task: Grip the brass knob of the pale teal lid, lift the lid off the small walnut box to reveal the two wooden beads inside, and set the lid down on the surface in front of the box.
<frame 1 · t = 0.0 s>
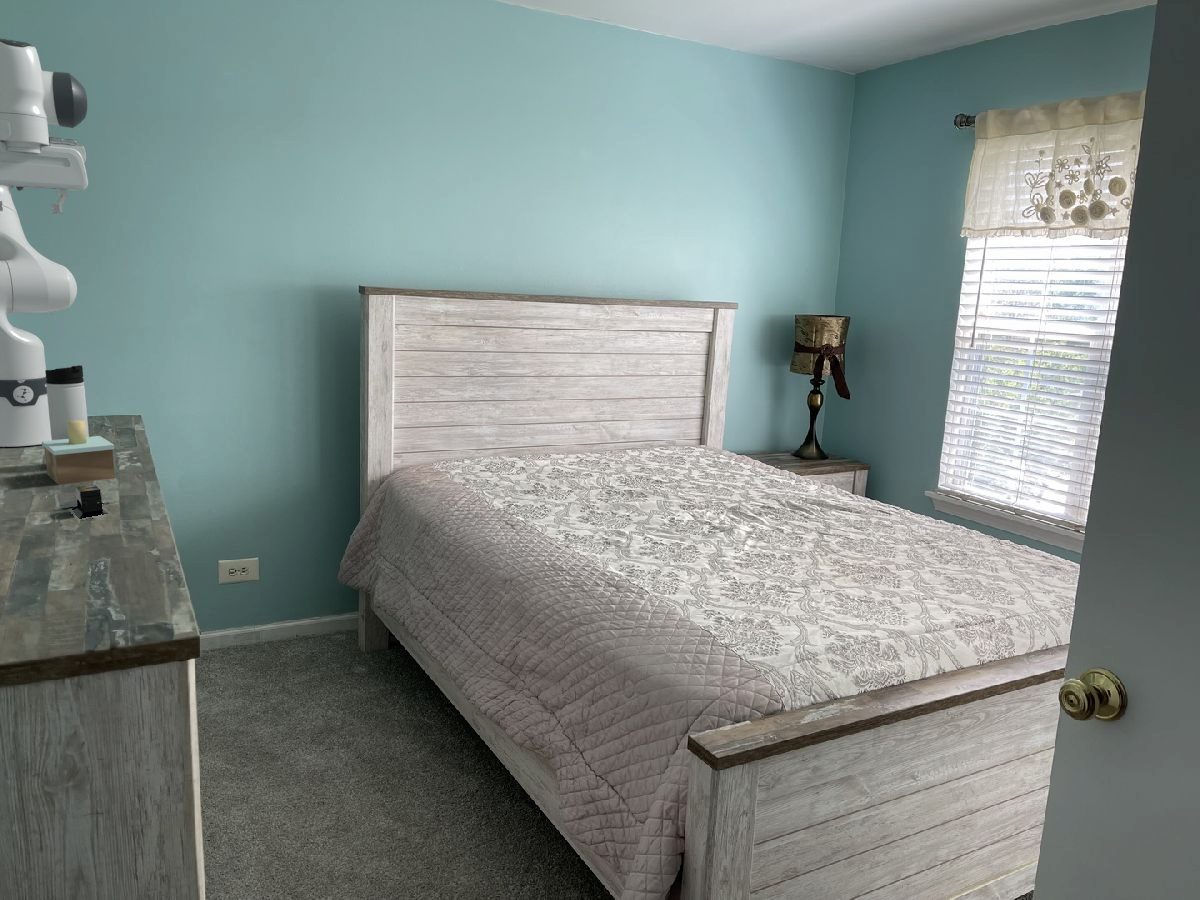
hand: (28, 212, 165), 48 cm above the dresser, tool pointing down, fingers open, 8 cm apart
lid: (78, 447, 164), point 6 cm above the dresser, touching box
box: (81, 479, 165), on the dresser
black stepped block: (90, 516, 144), on the dresser
travel mug: (73, 468, 174), on the dresser
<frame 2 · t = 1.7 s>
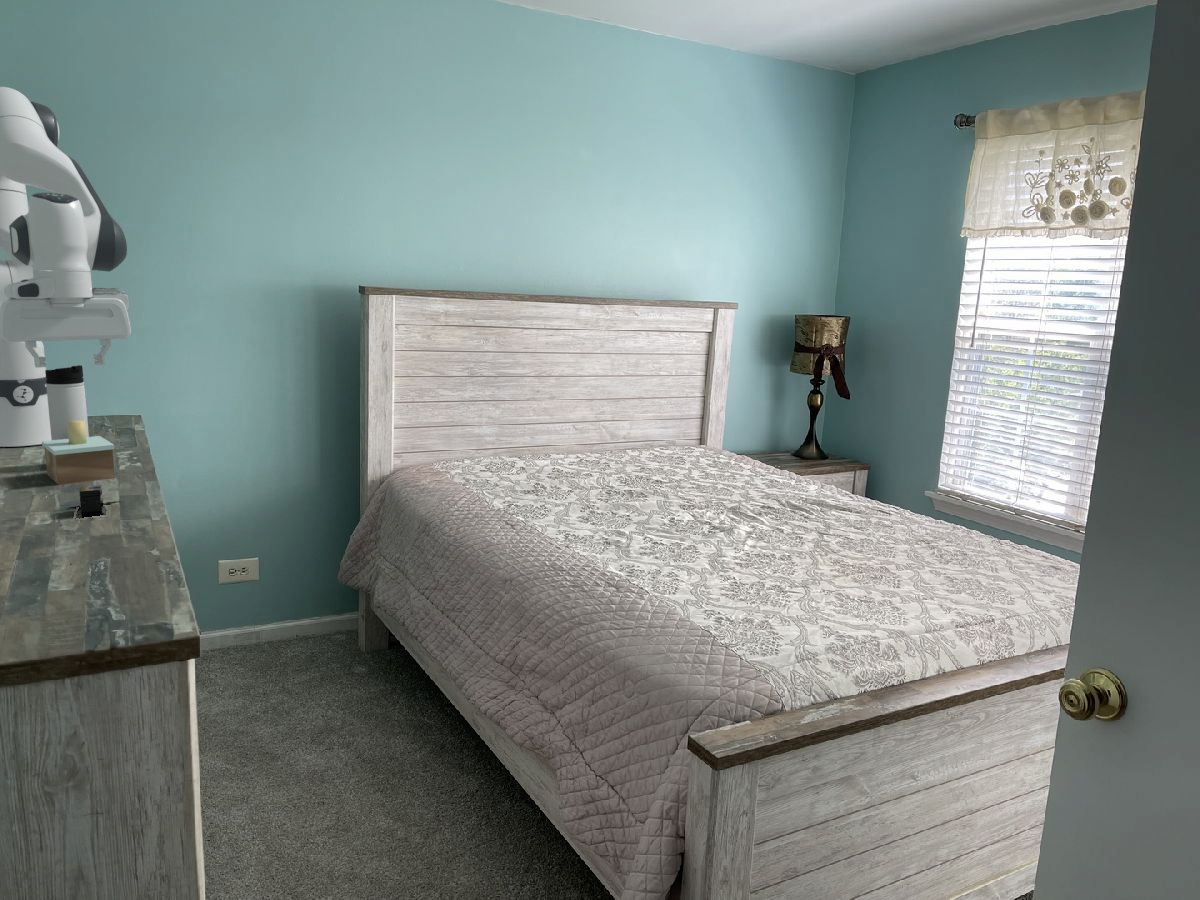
hand: (70, 365, 161), 21 cm above the dresser, tool pointing down, fingers open, 8 cm apart
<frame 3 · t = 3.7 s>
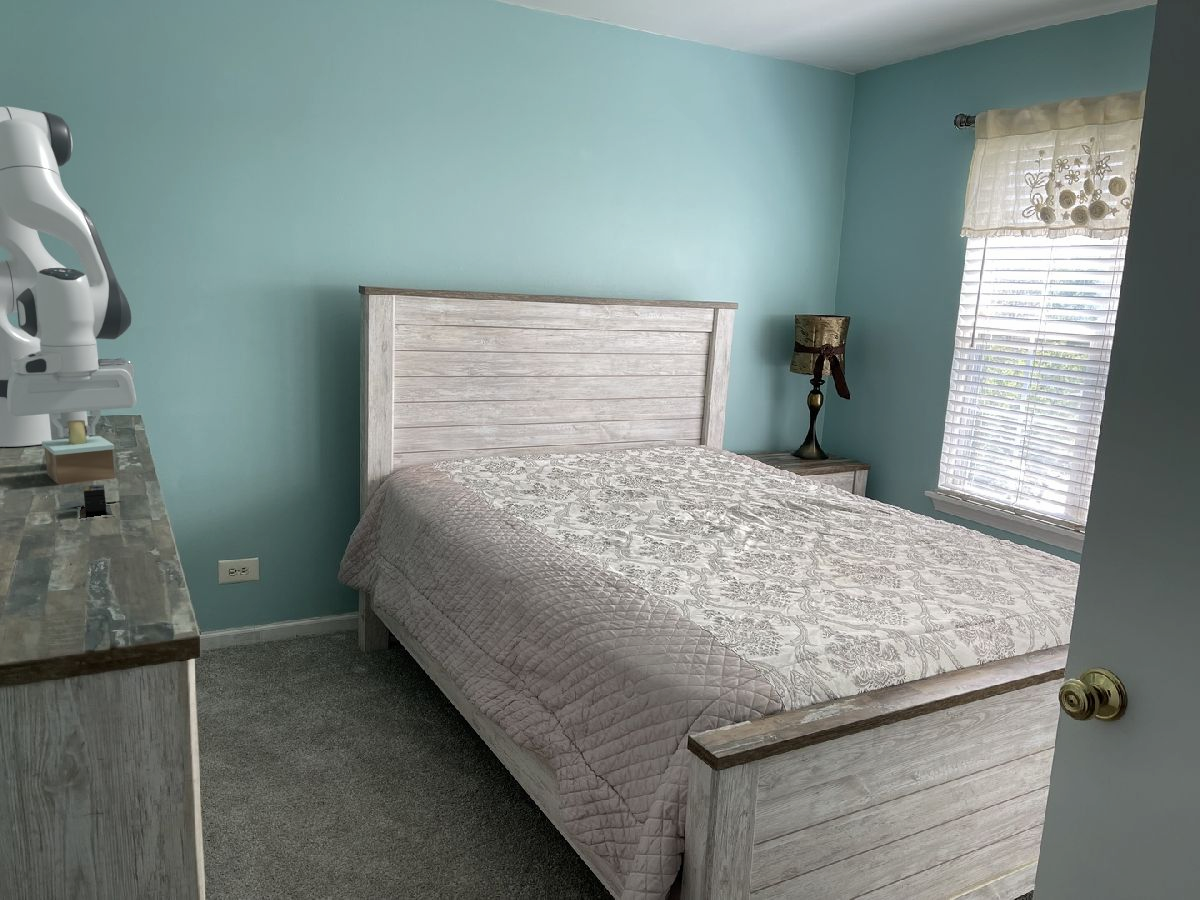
hand: (77, 436, 164), 8 cm above the dresser, tool pointing down, fingers closed on lid, 3 cm apart
lid: (78, 447, 164), point 6 cm above the dresser, touching box, gripper
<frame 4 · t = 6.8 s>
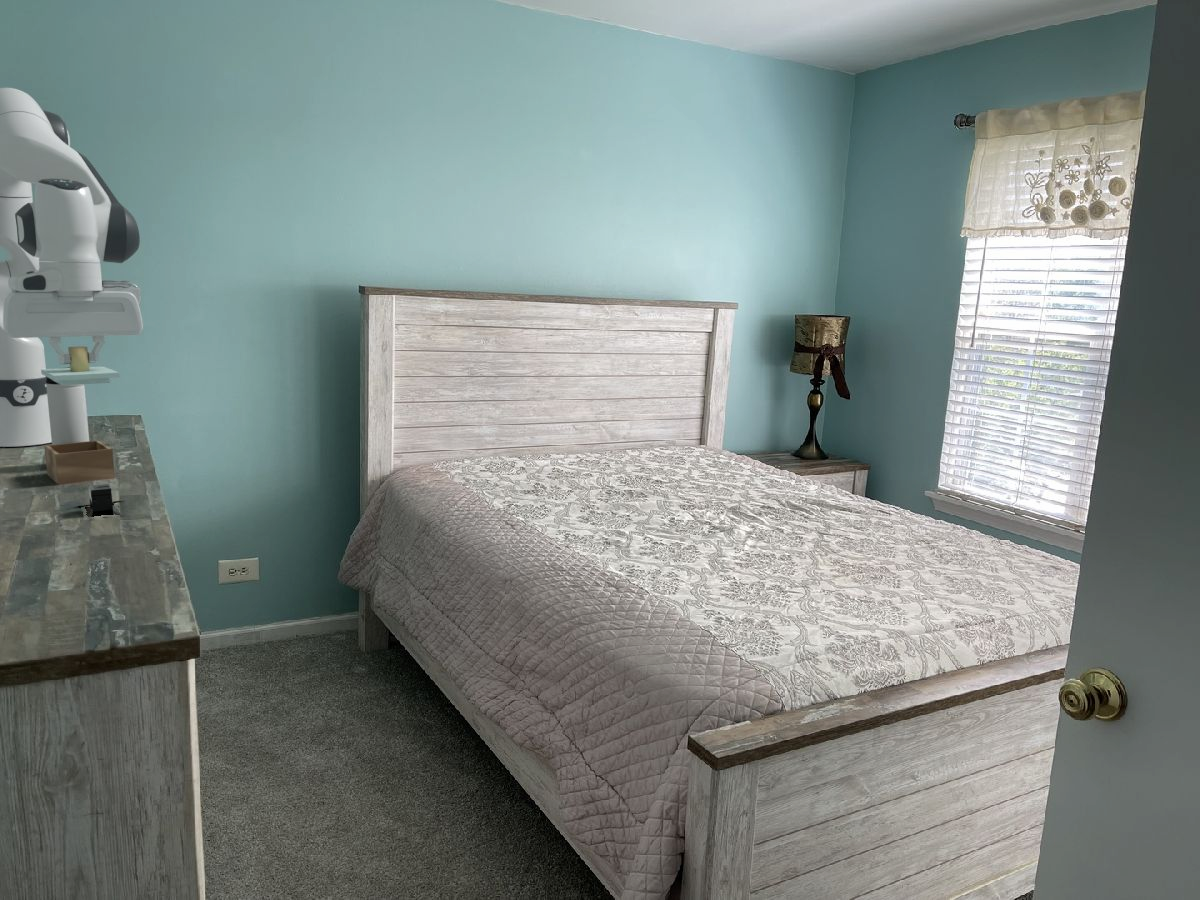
hand: (79, 363, 151), 23 cm above the dresser, tool pointing down, fingers closed on lid, 3 cm apart
lid: (80, 375, 152), point 21 cm above the dresser, touching gripper
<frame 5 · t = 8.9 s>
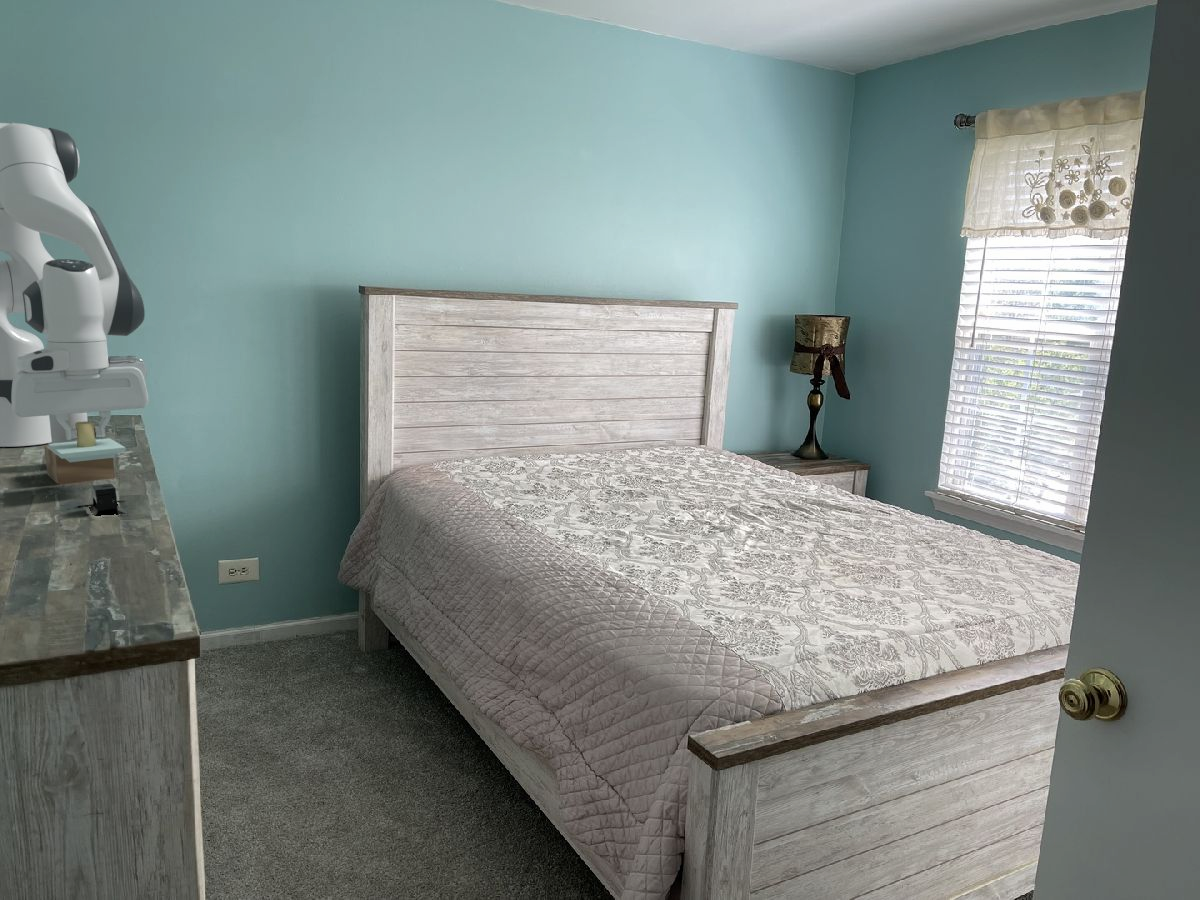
hand: (85, 438, 154), 10 cm above the dresser, tool pointing down, fingers closed on lid, 3 cm apart
lid: (87, 450, 154), point 8 cm above the dresser, touching gripper
when the fingers open (4 cm above the dresser, at t = 10.4 s): lid drops 1 cm, point 1 cm above the dresser.
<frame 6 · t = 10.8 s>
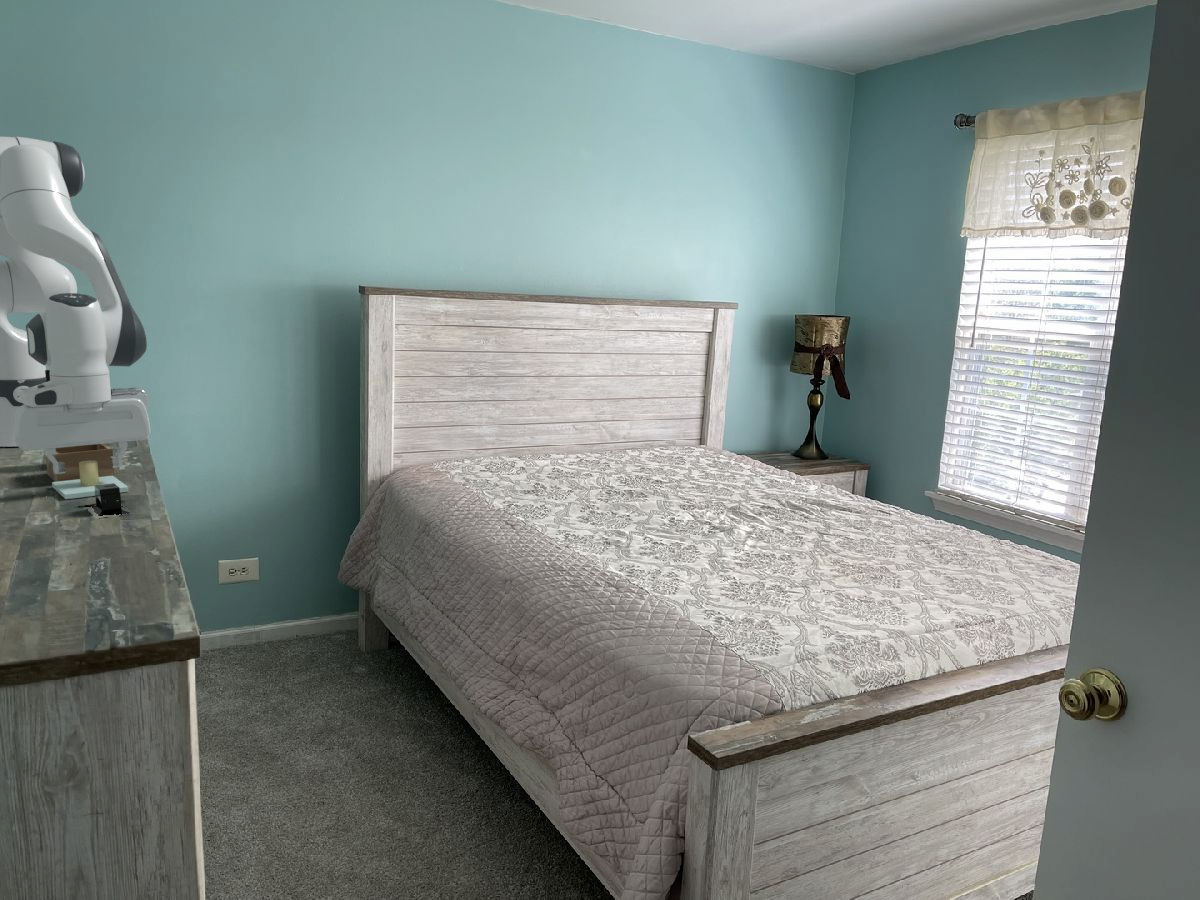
hand: (88, 470, 155), 4 cm above the dresser, tool pointing down, fingers open, 7 cm apart
lid: (90, 489, 156), point 1 cm above the dresser
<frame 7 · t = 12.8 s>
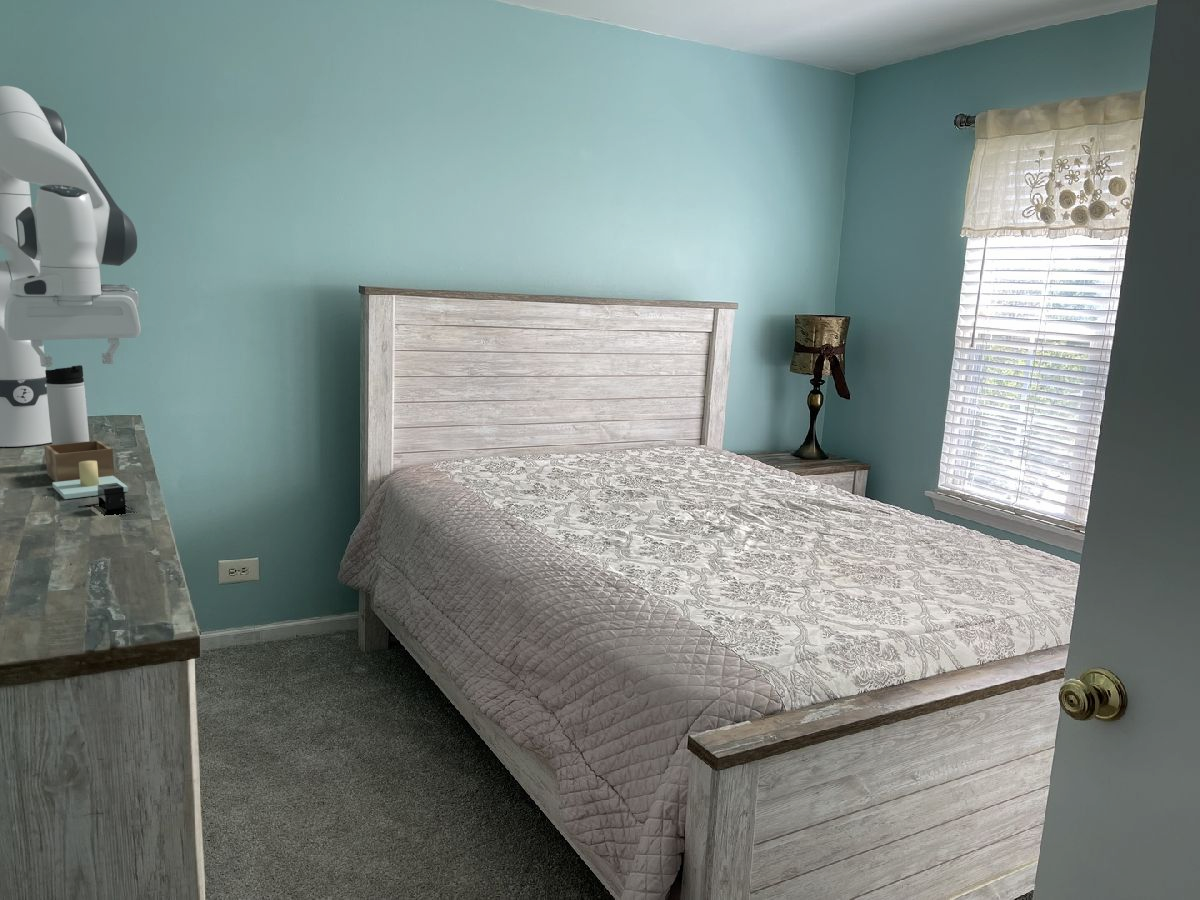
hand: (77, 365, 155), 22 cm above the dresser, tool pointing down, fingers open, 8 cm apart
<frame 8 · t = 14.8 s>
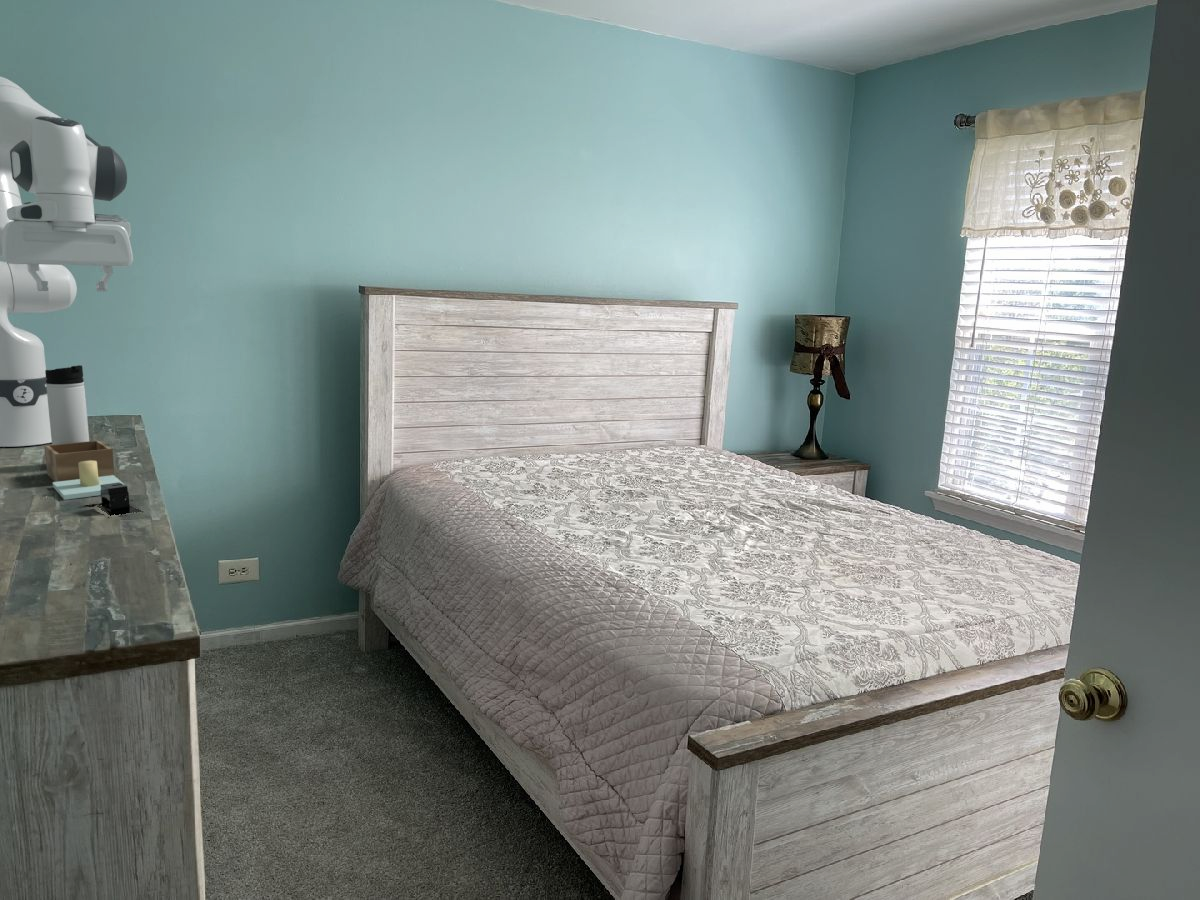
hand: (73, 291, 162), 34 cm above the dresser, tool pointing down, fingers open, 8 cm apart
at the end: lid inside the target area (0.0 cm from its centre), point 0.7 cm above the dresser; lid touching dresser; lid tilted 0° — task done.
